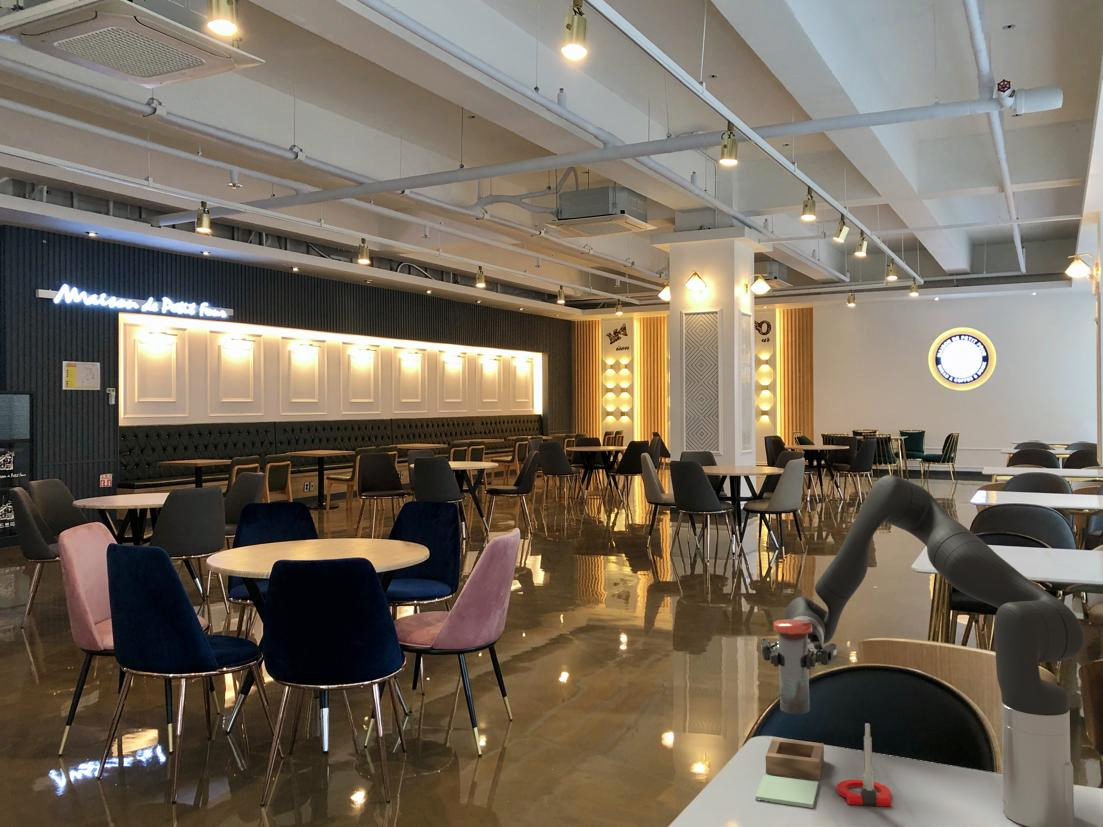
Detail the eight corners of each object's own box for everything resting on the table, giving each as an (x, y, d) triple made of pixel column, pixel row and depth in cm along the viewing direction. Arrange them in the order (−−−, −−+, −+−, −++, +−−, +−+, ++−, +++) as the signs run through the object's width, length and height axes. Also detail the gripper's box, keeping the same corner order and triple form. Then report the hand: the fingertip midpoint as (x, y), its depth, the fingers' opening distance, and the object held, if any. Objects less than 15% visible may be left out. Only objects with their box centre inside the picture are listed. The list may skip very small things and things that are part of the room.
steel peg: (815, 705, 160) (813, 620, 160) (812, 717, 154) (810, 629, 154) (778, 701, 163) (776, 618, 163) (773, 713, 157) (771, 626, 157)
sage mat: (818, 785, 151) (818, 782, 151) (812, 808, 142) (812, 804, 142) (763, 778, 154) (763, 774, 154) (755, 799, 146) (755, 796, 146)
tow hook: (833, 784, 152) (842, 806, 143) (831, 707, 153) (841, 724, 143) (884, 787, 151) (897, 809, 142) (883, 709, 151) (895, 726, 142)
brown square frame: (824, 760, 161) (823, 743, 161) (819, 779, 153) (819, 762, 153) (773, 754, 165) (772, 737, 165) (765, 772, 156) (765, 755, 156)
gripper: (764, 617, 174) (749, 637, 159) (841, 621, 169) (834, 643, 153) (764, 655, 174) (750, 680, 159) (841, 661, 169) (835, 687, 153)
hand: (792, 662), depth 156 cm, fingers closed on steel peg, 5 cm apart
